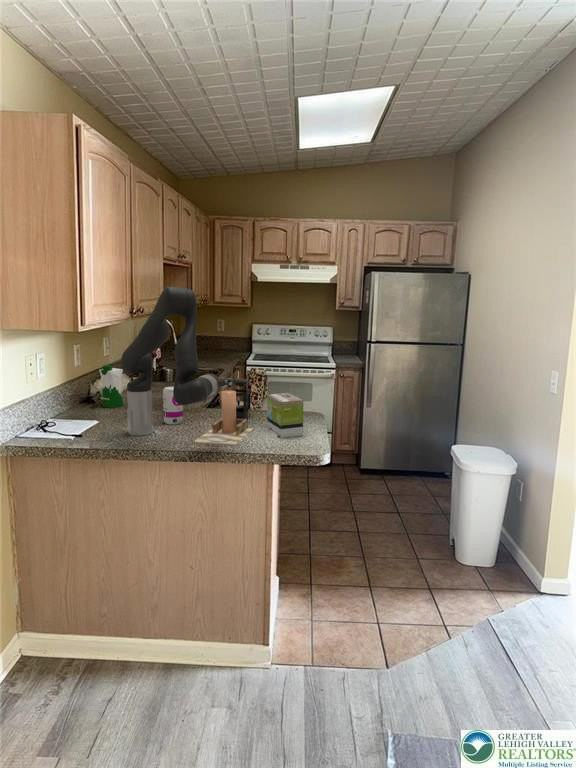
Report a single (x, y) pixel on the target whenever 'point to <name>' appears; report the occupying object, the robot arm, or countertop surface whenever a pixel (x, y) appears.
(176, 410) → the supplement can
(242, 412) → the french press
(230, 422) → the dome-topped peach cylinder
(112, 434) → the countertop surface
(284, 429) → the tea box
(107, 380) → the milk carton
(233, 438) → the dock
